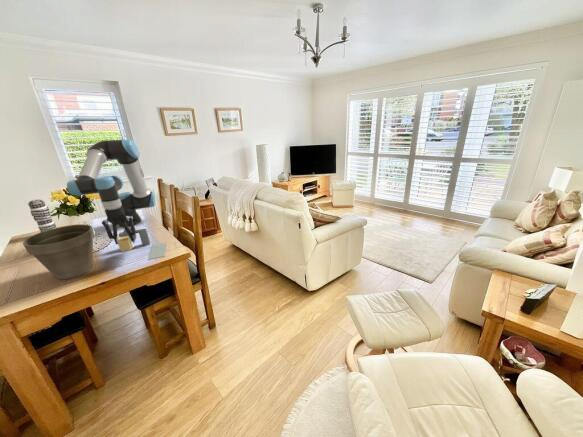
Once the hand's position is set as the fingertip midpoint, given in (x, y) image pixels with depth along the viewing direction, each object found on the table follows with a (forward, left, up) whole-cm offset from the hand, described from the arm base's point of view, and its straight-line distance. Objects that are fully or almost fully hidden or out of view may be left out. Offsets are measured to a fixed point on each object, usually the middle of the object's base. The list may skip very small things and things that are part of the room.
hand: (127, 247), depth 129 cm
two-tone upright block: (-5, 0, 0) cm, 5 cm away
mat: (-5, +13, -8) cm, 16 cm away
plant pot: (0, -25, -8) cm, 26 cm away
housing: (-18, 0, -8) cm, 19 cm away
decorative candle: (-65, -61, -8) cm, 90 cm away
